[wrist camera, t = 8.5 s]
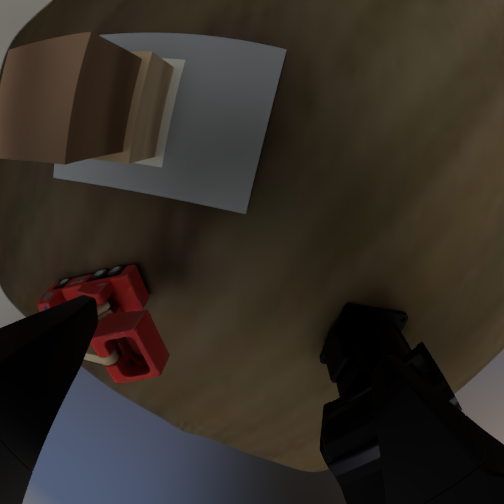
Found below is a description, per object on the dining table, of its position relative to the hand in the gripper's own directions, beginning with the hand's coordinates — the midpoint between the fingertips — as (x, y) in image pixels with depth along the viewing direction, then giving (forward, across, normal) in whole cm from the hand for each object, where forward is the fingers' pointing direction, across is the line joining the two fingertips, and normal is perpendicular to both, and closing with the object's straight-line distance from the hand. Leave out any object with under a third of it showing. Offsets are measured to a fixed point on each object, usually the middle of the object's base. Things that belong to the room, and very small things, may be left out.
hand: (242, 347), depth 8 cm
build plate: (+12, +8, -6) cm, 16 cm away
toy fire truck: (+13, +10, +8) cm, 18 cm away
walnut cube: (+8, +10, -6) cm, 14 cm away
